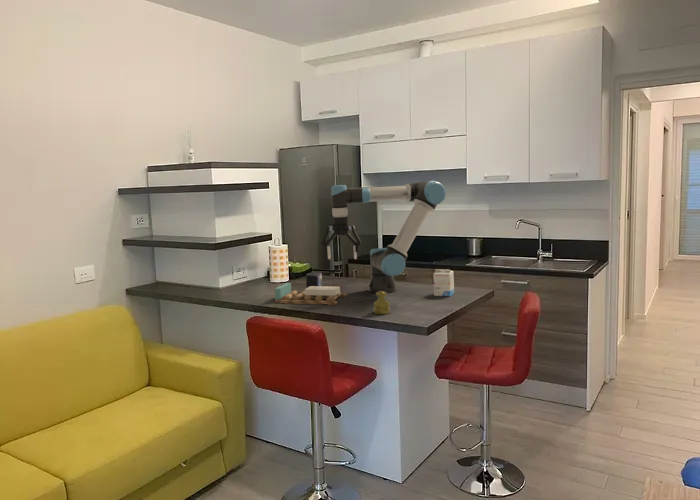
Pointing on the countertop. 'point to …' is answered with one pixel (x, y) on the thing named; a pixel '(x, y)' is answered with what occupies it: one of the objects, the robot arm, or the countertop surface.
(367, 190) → the robot arm
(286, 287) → the block
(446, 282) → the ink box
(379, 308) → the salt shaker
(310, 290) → the slab
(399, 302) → the countertop surface
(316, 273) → the small box
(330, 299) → the roller bed
